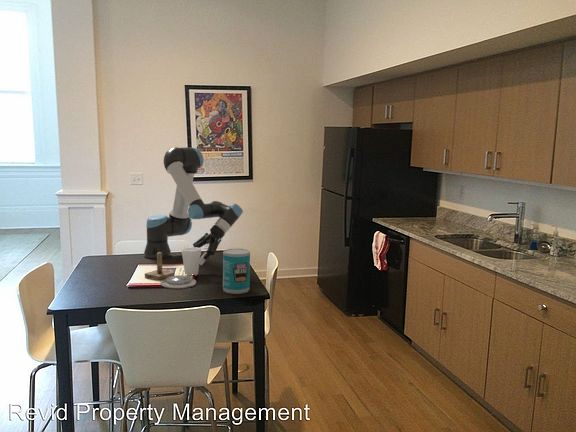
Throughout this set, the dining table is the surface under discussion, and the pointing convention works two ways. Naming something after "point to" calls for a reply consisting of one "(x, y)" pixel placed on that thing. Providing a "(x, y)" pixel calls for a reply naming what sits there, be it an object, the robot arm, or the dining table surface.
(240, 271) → the food can
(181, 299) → the dining table surface
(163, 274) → the stand
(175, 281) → the grey plate
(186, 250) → the foam cup
